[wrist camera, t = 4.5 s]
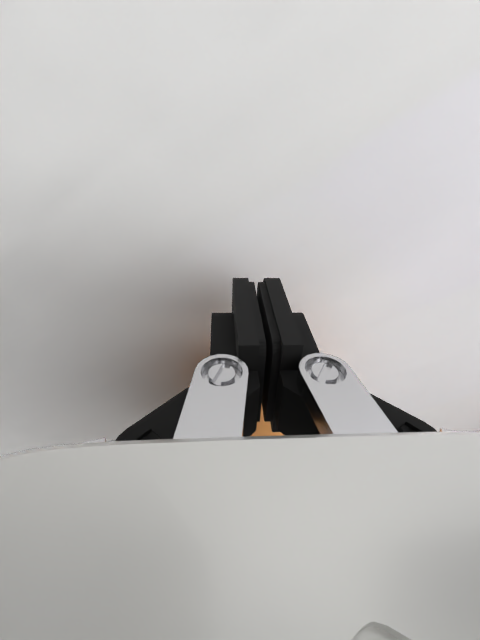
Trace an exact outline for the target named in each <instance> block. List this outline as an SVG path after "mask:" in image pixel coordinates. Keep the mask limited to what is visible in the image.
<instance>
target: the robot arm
mask: <svg viewBox="0 0 480 640" xmlns="http://www.w3.org/2000/svg"><path fill="white" fill-rule="evenodd" d="M261 404H262V409H263V416H264V421H265V422H270V423H271V429H272V432H281V433H282V434H284V435H282V436H251V435H252V434H253V433H254V432H255V431H256V427H257V422H260V415H261ZM0 640H480V431H453V430H447V429H440V431H439V432H437V431H436V430H435V429H434V428H433V427H431V426H430V425H428V424H427V423H425V422H423V421H422V420H420V419H418V418H416V417H414V416H412V415H410V414H408V413H406V412H404V411H402V410H401V409H399V408H397V407H395V406H393V405H391V404H389V403H387V402H385V401H383V400H381V399H380V398H378V397H376V396H374V395H372V394H370V393H369V392H368V391H367V389H366V388H365V387H364V385H363V384H362V383H361V381H360V380H359V379H358V377H357V376H356V375H355V373H354V372H353V370H352V369H351V368H350V366H349V365H348V364H347V363H346V362H345V361H343V360H341V359H340V358H338V357H336V356H333V355H330V354H325V353H319V350H318V348H317V345H316V343H315V341H314V338H313V336H312V333H311V331H310V329H309V326H308V324H307V321H306V319H305V317H304V315H303V313H292V311H291V308H290V305H289V303H288V300H287V297H286V295H285V292H284V289H283V286H282V284H281V281H280V279H279V278H264V280H263V282H258V287H257V295H256V290H255V285H254V282H249V281H248V278H233V288H232V313H212V323H211V349H210V356H209V357H207V358H205V359H203V360H202V361H201V362H199V363H198V365H197V367H196V368H195V371H194V374H193V378H192V381H191V384H190V386H189V387H188V388H186V389H185V390H184V391H182V392H181V393H179V394H178V395H176V396H175V397H173V398H172V399H170V400H169V401H167V402H166V403H164V404H163V405H161V406H160V407H158V408H157V409H155V410H154V411H153V412H151V413H150V414H148V415H147V416H145V417H144V418H142V419H141V420H139V421H138V422H136V423H135V424H133V425H132V426H130V427H129V428H127V429H126V430H125V431H124V432H123V433H121V434H120V435H119V436H118V437H117V439H116V440H113V441H108V442H106V438H101V439H96V440H92V441H87V442H82V443H78V444H66V445H55V446H48V447H42V448H35V449H29V450H24V451H20V452H15V453H11V454H7V455H2V456H0Z"/></svg>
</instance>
